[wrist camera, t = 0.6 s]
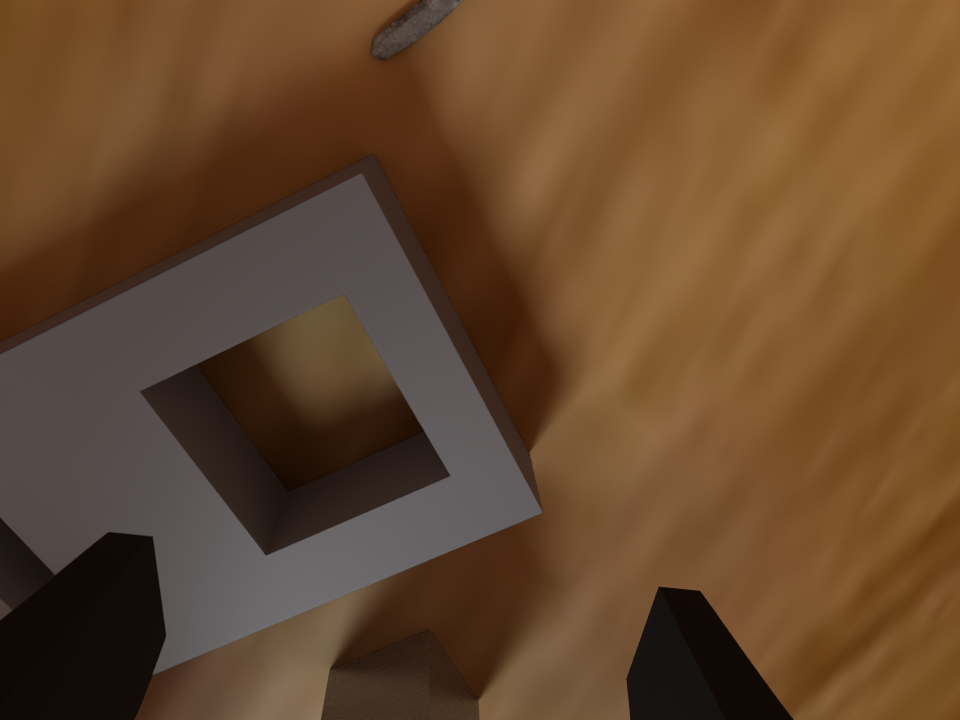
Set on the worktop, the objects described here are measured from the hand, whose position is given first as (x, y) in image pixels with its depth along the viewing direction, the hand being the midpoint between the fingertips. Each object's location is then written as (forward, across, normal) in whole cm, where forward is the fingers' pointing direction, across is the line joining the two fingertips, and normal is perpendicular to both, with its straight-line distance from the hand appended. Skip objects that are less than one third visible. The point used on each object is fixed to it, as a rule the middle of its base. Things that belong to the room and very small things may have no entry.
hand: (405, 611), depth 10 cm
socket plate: (+10, +7, +5) cm, 13 cm away
